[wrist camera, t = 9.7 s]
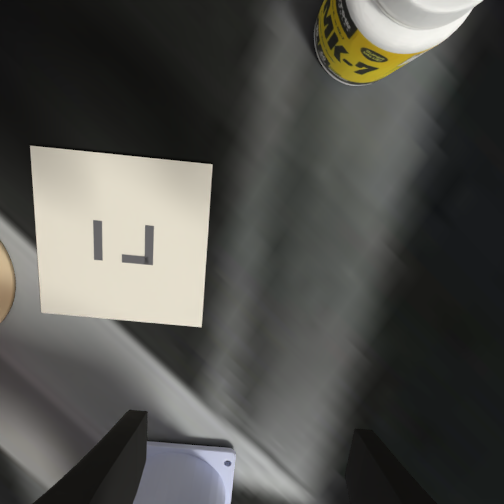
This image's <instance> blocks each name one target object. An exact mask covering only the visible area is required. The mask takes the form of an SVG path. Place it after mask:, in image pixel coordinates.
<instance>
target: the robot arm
mask: <svg viewBox="0 0 504 504" xmlns="http://www.w3.org/2000/svg"><path fill="white" fill-rule="evenodd" d="M235 458H236V453H235V451H234V450H233V449H232V448H225V447H212V446H200V445H188V444H175V443H163V442H150V441H147V411H136V410H129V411H128V412H126V414H125V415H124V416H123V417H122V418H121V419H120V420H119V421H118V422H117V424H116V425H115V426H114V427H113V428H112V429H111V430H110V431H109V432H108V433H107V434H106V435H105V436H104V438H103V439H102V440H101V441H100V442H99V443H98V444H97V445H96V446H95V447H94V448H93V449H92V450H91V451H90V452H89V453H88V454H87V455H86V456H85V457H84V458H83V459H82V460H81V461H80V462H79V463H78V464H77V465H76V466H74V467H73V468H72V469H71V470H70V471H69V472H68V473H67V474H66V475H65V476H64V477H63V478H62V479H60V480H59V481H58V482H57V483H56V484H55V485H54V486H53V487H52V488H50V489H49V490H48V491H47V492H46V493H45V494H43V495H42V496H41V497H40V498H39V499H38V500H36V501H35V502H34V503H33V504H231V495H232V486H233V476H234V467H235ZM227 461H230V462H227ZM345 479H346V484H347V489H348V495H349V499H350V504H437V503H436V502H435V501H434V500H433V499H432V498H431V497H430V496H429V495H428V494H427V492H426V491H425V490H424V489H423V488H422V487H421V486H420V485H419V484H418V483H417V482H416V480H415V479H414V478H413V477H412V476H411V475H410V474H409V473H408V471H407V470H406V469H405V468H404V467H403V466H402V464H401V463H400V462H399V461H398V460H397V459H396V457H395V456H394V455H393V454H392V453H391V452H390V450H389V449H388V448H387V447H386V446H385V444H384V443H383V442H382V441H381V440H380V439H379V437H378V436H377V435H376V434H375V433H374V432H373V430H365V429H355V431H354V435H353V440H352V444H351V449H350V454H349V458H348V463H347V468H346V472H345Z"/></svg>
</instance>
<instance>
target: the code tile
mask: <svg viewBox="0 0 504 504" xmlns="http://www.w3.org/2000/svg"><path fill="white" fill-rule="evenodd" d="M30 151H31V166H32V181H33V196H34V210H35V225H36V240H37V255H38V270H39V284H40V299H41V313H50V314H61V315H72V316H83V317H94V318H105V319H116V320H127V321H139V322H150V323H161V324H172V325H183V326H194V327H202V316H203V301H204V286H205V271H206V256H207V242H208V227H209V212H210V197H211V182H212V167H213V164H204V163H195V162H185V161H175V160H165V159H156V158H146V157H136V156H127V155H117V154H107V153H97V152H88V151H78V150H68V149H59V148H49V147H39V146H30Z"/></svg>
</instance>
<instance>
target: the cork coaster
mask: <svg viewBox="0 0 504 504" xmlns="http://www.w3.org/2000/svg"><path fill="white" fill-rule="evenodd" d="M15 290H16V280H15V273H14V269H13V265H12V262H11V259H10V257H9V255H8V253H7V251H6V249H5V247H4V246H3V244H2V242H1V241H0V323H1V322H2V321H3V320H4V319H5V317H6V316H7V314H8V313H9V311H10V309H11V307H12V304H13V301H14V297H15Z"/></svg>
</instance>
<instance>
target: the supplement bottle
mask: <svg viewBox="0 0 504 504" xmlns="http://www.w3.org/2000/svg"><path fill="white" fill-rule="evenodd" d="M481 1H483V0H324V1H323V3H322V5H321V8H320V10H319V13H318V16H317V20H316V24H315V30H314V45H315V50H316V54H317V57H318V59H319V61H320V63H321V65H322V66H323V68H324V69H325V70H326V72H327V73H328V74H329V75H331V76H332V77H333V78H334V79H336V80H337V81H339V82H341V83H344V84H347V85H352V86H363V85H368V84H371V83H374V82H376V81H379V80H380V79H382V78H384V77H386V76H387V75H389V74H390V73H392V72H394V71H395V70H397V69H399V68H400V67H402V66H404V65H405V64H407V63H409V62H410V61H412V60H413V59H415V58H417V57H418V56H420V55H422V54H423V53H425V52H427V51H428V50H430V49H432V48H433V47H435V46H437V45H438V44H440V43H441V42H443V41H444V40H445V39H446V38H448V37H449V36H450V35H451V34H452V33H453V32H454V31H455V30H456V29H457V28H458V27H459V26H460V25H461V24H462V23H463V22H464V20H465V19H466V18H467V16H468V15H469V14H470V12H471V10H472V9H473V7H475V6H476V5H477V4H479V3H480V2H481Z"/></svg>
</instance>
